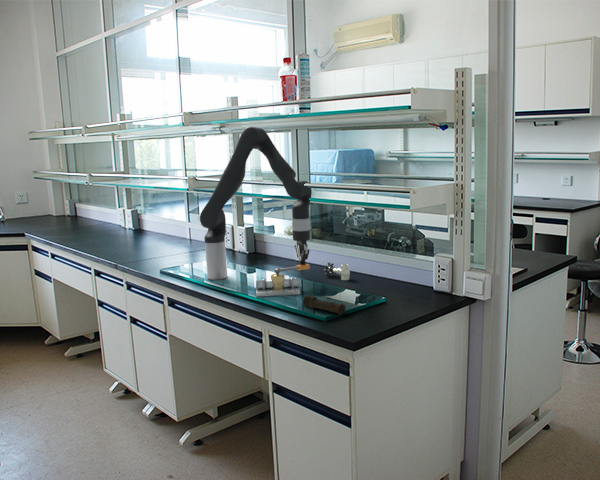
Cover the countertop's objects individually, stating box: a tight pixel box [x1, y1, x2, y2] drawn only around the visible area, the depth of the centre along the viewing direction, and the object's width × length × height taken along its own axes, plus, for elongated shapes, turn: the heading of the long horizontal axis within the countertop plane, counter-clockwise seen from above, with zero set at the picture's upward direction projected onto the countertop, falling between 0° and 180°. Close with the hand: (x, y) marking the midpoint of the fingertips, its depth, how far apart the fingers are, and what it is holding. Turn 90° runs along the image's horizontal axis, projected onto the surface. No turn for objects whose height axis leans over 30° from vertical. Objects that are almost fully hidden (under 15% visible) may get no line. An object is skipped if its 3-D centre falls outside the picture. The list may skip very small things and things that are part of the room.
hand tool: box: [302, 294, 346, 316], centre depth 203 cm, size 19×4×5 cm, turn 45°
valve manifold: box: [255, 272, 301, 298], centre depth 229 cm, size 12×18×8 cm, turn 92°
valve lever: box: [274, 263, 311, 274], centre depth 230 cm, size 15×2×2 cm, turn 111°
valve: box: [323, 261, 351, 281], centre depth 246 cm, size 7×7×12 cm
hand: (302, 268), depth 235 cm, fingers closed
